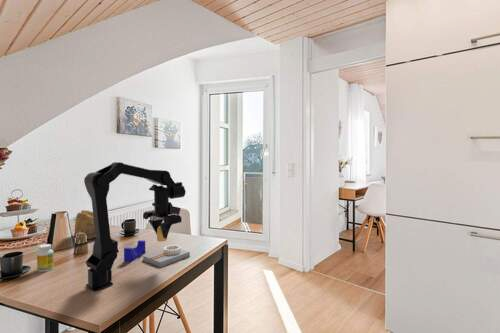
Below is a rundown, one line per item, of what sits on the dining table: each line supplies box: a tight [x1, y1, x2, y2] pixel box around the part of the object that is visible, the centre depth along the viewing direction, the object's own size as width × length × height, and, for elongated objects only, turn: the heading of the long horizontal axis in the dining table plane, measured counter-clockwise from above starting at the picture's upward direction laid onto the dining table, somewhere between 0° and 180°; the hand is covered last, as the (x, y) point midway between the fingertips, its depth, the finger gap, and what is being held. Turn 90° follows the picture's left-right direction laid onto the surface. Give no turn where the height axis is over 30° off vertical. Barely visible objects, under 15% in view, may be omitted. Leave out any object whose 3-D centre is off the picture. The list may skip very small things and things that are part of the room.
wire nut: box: [156, 226, 168, 242], centre depth 118 cm, size 4×4×6 cm
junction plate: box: [142, 244, 191, 268], centre depth 126 cm, size 16×12×4 cm
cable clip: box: [123, 239, 146, 263], centre depth 127 cm, size 12×4×6 cm, turn 170°
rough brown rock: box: [73, 209, 96, 240], centre depth 156 cm, size 23×17×15 cm
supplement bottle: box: [36, 243, 55, 273], centre depth 112 cm, size 5×5×10 cm
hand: (162, 237), depth 118 cm, fingers closed on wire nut, 4 cm apart
